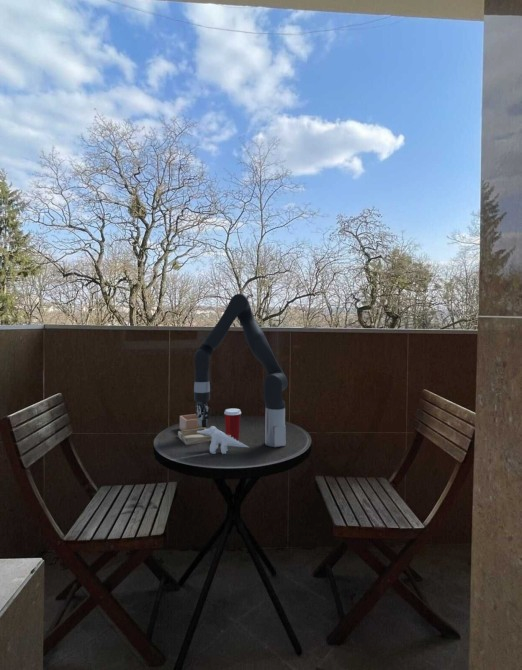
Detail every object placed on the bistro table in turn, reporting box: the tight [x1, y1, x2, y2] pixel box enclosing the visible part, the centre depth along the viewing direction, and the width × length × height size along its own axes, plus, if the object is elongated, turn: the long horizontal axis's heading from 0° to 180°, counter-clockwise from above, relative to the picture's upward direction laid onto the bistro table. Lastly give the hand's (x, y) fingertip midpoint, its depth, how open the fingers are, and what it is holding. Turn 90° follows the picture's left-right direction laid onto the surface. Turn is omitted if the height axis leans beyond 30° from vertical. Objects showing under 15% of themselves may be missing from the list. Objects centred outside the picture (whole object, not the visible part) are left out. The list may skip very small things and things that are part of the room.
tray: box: [177, 427, 212, 446], centre depth 173 cm, size 14×14×4 cm
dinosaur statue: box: [197, 425, 249, 455], centre depth 157 cm, size 7×24×11 cm, turn 84°
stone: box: [198, 417, 202, 427], centre depth 173 cm, size 4×4×4 cm
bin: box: [179, 413, 207, 431], centre depth 187 cm, size 11×11×8 cm
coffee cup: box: [223, 408, 242, 441], centre depth 172 cm, size 8×8×15 cm
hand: (202, 425), depth 173 cm, fingers closed on stone, 4 cm apart
